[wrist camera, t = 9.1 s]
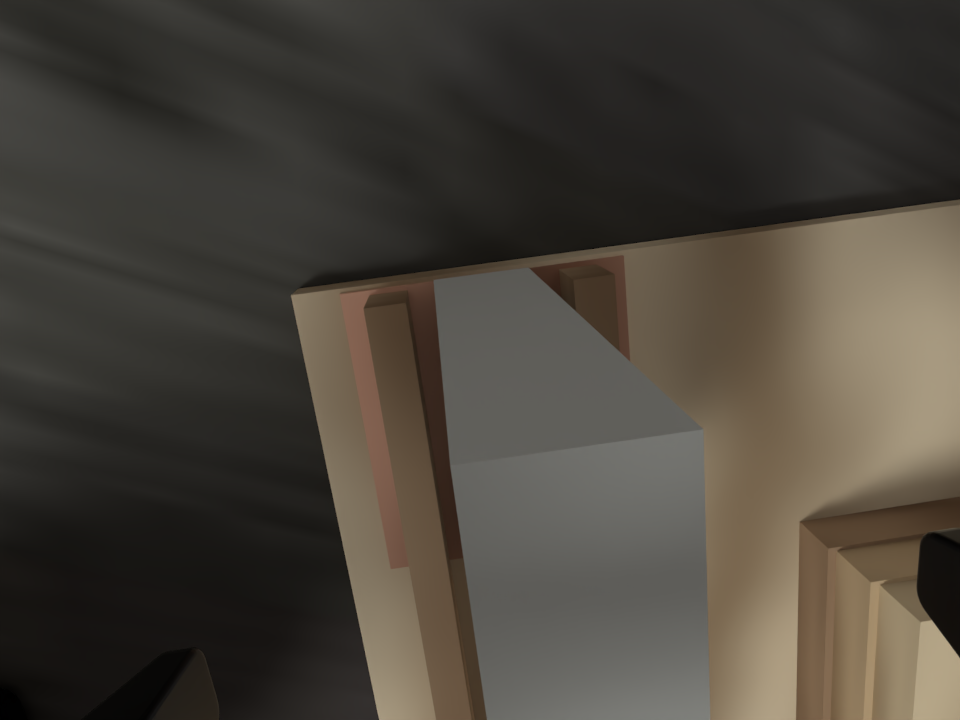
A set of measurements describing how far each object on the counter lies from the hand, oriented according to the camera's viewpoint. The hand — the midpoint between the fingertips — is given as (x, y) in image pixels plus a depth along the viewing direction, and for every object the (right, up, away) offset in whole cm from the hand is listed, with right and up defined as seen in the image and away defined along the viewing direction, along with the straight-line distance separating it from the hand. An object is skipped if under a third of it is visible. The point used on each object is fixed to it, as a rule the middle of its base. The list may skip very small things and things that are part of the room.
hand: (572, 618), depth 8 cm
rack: (+5, -1, +9) cm, 10 cm away
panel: (-1, +2, +7) cm, 7 cm away
